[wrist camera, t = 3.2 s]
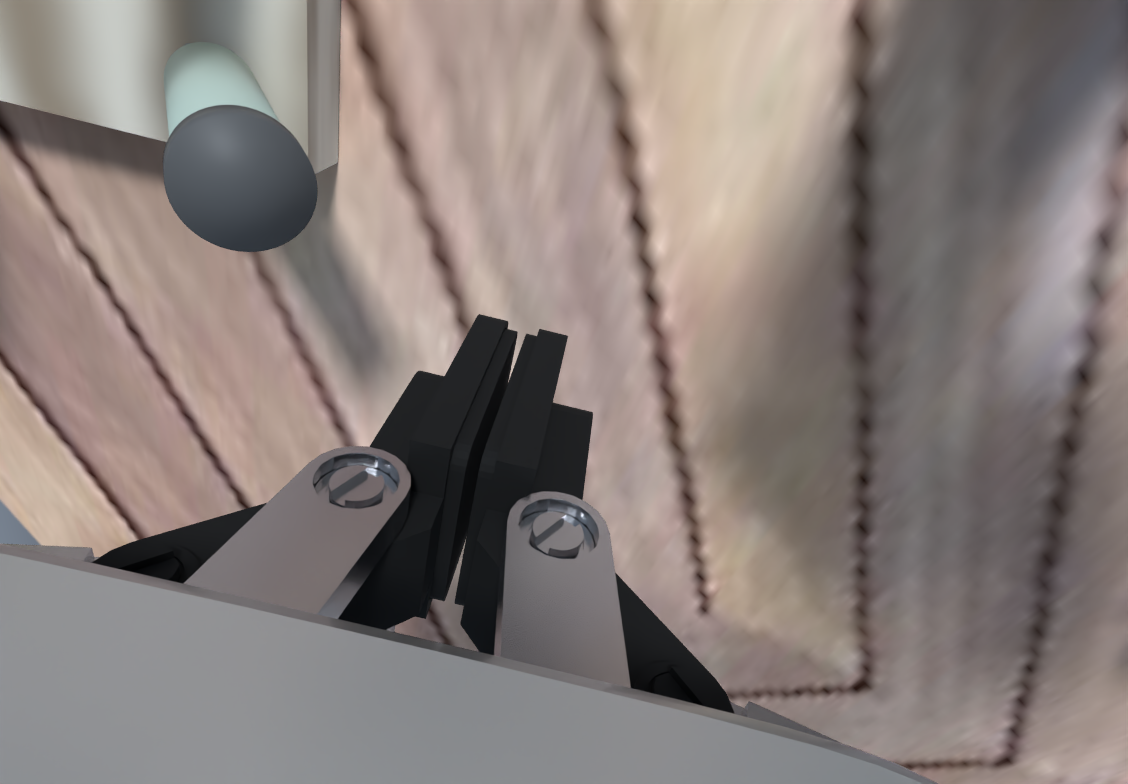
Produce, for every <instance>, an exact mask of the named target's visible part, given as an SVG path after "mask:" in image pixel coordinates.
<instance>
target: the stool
mask: <svg viewBox="0 0 1128 784" xmlns="http://www.w3.org/2000/svg"><path fill="white" fill-rule="evenodd" d="M340 6H341V0H0V101H4V102H8V103H12V104H16V105H20V106H24V107H28V108H32V109H36V110H40V111H44V112H48V113H52V114H56V115H60V116H64V117H68V118H72V119H76V120H80V121H84V122H88V123H92V124H96V125H100V126H104V127H108V128H112V129H116V130H120V131H124V132H128V133H132V134H136V135H140V136H144V137H148V138H152V139H156V140H160V141H164V142H167V141H168V138H169V131H168V121H167V111H166V101H165V91H164V78H163V77H164V69H165V66H166V63H167V61H168V59H169V58H170V56H171V55H172V54H173V53H174V52H175V51H176V50H177V49H179V48H180V47H182V46H184V45H185V44H186V43H194V42H210V43H214V44H218V45H221V46H223V47H225V48H227V49H230V50H232V51H233V52H234V53H235V54H237V55H238V56H239V57H240V58H241V59H242V60H243V61H244V62H245V63H246V64H247V65H248V66H249V68H250V69H251V71H252V73H253V74H254V76H255V78H256V80H257V82H258V83H259V85H260V87H261V89H262V91H263V93H264V94H265V96H266V98H267V100H268V102H269V103H270V105H271V107H272V109H273V111H274V113H275V114H276V116H277V118H278V120H279V122H280V123H281V124H282V125H284V126H285V127H286V128H287V129H288V130H289V131H290V132H291V133H292V134H293V135H294V137H295V138H296V139H297V140H298V142H299V143H300V145H301V146H302V148H303V150H304V152H305V153H306V155H307V157H308V159H309V161H310V163H311V165H312V167H313V170H314V173H315V174H316V173H318V172H320V171H322V170H324V169H326V168H328V167H330V166H332V165H334V164H336V163H338V129H339V68H340Z"/></svg>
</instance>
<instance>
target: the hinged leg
mask: <svg viewBox="0 0 1128 784" xmlns="http://www.w3.org/2000/svg"><path fill="white" fill-rule="evenodd" d="M163 78H164V91H165V101H166V111H167V121H168V131H169V138H168V141H167V143H166V146H165V150H164V156H163V171H164V184H165V189H166V193H167V196H168V199H169V202H170V204H171V205H172V207H173V209H174V211H175V212H176V214H177V215H178V217H179V218H180V219H181V220H182V222H183V223H184V224H185V225H186V226H187V227H188V228H189V229H191V230H192V231H193V232H194V233H195V234H197V235H198V236H200V237H201V238H203V239H204V240H206V241H208V242H210V243H212V244H215V245H217V246H220V247H223V248H226V249H230V250H235V251H243V252H257V251H264V250H269V249H272V248H276V247H278V246H281V245H283V244H285V243H287V242H288V241H290V240H292V239H293V238H294V237H296V236H297V235H298V234H299V233H300V232H301V231H302V230H303V229H304V228H305V226H306V225H307V224H308V222H309V221H310V219H311V217H312V215H313V212H314V210H315V206H316V202H317V181H316V176H315V173H314V170H313V167H312V165H311V163H310V161H309V159H308V157H307V155H306V153H305V152H304V150H303V148H302V146H301V145H300V143H299V142H298V140H297V139H296V138H295V137H294V135H293V134H292V133H291V132H290V131H289V130H288V129H287V128H286V127H285V126H284V125H282V124H281V123H280V122H279V120H278V118H277V116H276V114H275V113H274V111H273V109H272V107H271V105H270V103H269V102H268V100H267V98H266V96H265V94H264V93H263V91H262V89H261V87H260V85H259V83H258V82H257V80H256V78H255V76H254V74H253V73H252V71H251V69H250V68H249V66H248V65H247V64H246V63H245V62H244V61H243V60H242V59H241V58H240V57H239V56H238V55H237V54H235V53H234V52H233V51H232V50H230V49H227V48H225V47H223V46H221V45H218V44H214V43H210V42H194V43H186V44H185V45H184V46H182V47H180V48H179V49H177V50H176V51H175V52H174V53H173V54H172V55H171V56H170V58H169V59H168V61H167V63H166V66H165V69H164V77H163Z"/></svg>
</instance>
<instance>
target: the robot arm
mask: <svg viewBox="0 0 1128 784" xmlns="http://www.w3.org/2000/svg"><path fill="white" fill-rule="evenodd" d="M567 338H568V336H566V335H562V334H558V333H554V332H550V331H546V330H542V329H539V332H538V335H537V336H534V335H529V334H526V336H525V339H524V341H523V344H522V347H521V350H520V352H519V355H518V358H517V361H516V363H515V366H514V369H513V372H512V374H511V377H510V380H509V375H510V370H511V365H512V360H513V355H514V350H515V345H516V339H517V331H513V330H509V329H508V321H505V320H501V319H496V318H492V317H488V316H484V315H480V314H479V315H478V316H477V318H476V320H475V321H474V323H473V325H472V327H471V329H470V331H469V332H468V334H467V336H466V338H465V340H464V342H463V343H462V345H461V347H460V349H459V351H458V353H457V354H456V356H455V358H454V360H453V362H452V364H451V365H450V367H449V369H448V371H447V373H446V375H445V376H440V375H436V374H432V373H428V372H424V371H418V372H417V373H416V374H415V375H414V377H413V378H412V380H411V382H410V383H409V385H408V386H407V388H406V390H405V391H404V393H403V394H402V396H401V397H400V399H399V401H398V402H397V404H396V405H395V407H394V409H393V410H392V412H391V413H390V415H389V417H388V418H387V420H386V421H385V423H384V424H383V426H382V428H381V429H380V431H379V432H378V434H377V436H376V437H375V439H374V440H373V442H372V444H371V445H370V447H363V446H349V447H343V448H337V449H334V450H331V451H328V452H326V453H323V454H321V455H319V456H318V457H317V458H315V459H314V460H312V461H311V462H310V463H308V464H307V465H306V466H305V467H304V468H303V469H302V470H301V471H300V472H299V473H298V474H297V475H296V476H295V477H294V478H293V479H292V480H291V481H290V482H289V483H288V484H287V485H286V486H285V487H283V488H282V489H281V490H280V491H279V492H278V493H277V494H276V495H275V496H274V497H273V498H272V499H271V500H270V501H269V502H268V503H265V504H261V505H258V506H255V507H251V508H248V509H244V510H241V511H237V512H234V513H230V514H227V515H224V516H220V517H217V518H213V519H210V520H206V521H203V522H199V523H196V524H193V525H189V526H186V527H182V528H179V529H175V530H172V531H168V532H165V533H162V534H158V535H155V536H151V537H148V538H144V539H141V540H137V541H134V542H131V543H129V544H126V545H123V546H121V547H118V548H116V549H113V550H111V551H109V552H108V553H106V554H105V555H103V556H101V557H94V554H93V550H92V548H88V547H64V546H41V545H17V544H0V784H938V783H936V782H934V781H932V780H930V779H928V778H926V777H923V776H921V775H919V774H917V773H915V772H913V771H911V770H909V769H907V768H905V767H903V766H900V765H898V764H896V763H894V762H891V761H888V760H886V759H883V758H880V757H878V756H875V755H872V754H870V753H867V752H864V751H862V750H859V749H856V748H853V747H851V746H848V745H845V744H842V743H840V742H838V741H835V740H833V739H831V738H829V737H827V736H825V735H822V734H820V733H818V732H816V731H814V730H811V729H809V728H807V727H805V726H803V725H800V724H798V723H796V722H794V721H792V720H789V719H787V718H785V717H783V716H781V715H778V714H776V713H774V712H772V711H770V710H768V709H765V708H763V707H761V706H759V705H757V704H754V703H752V702H750V701H749V702H748V703H747V705H746V706H745V708H742V707H740V706H738V705H736V704H734V703H731V702H730V701H729V698H728V696H727V694H726V692H725V691H724V690H723V688H722V687H721V686H720V684H719V683H718V682H717V680H716V679H715V678H714V677H713V676H712V675H711V674H710V673H709V671H708V670H707V669H706V668H705V667H704V666H703V665H702V664H701V663H700V662H699V661H698V660H697V659H696V658H695V657H694V656H693V655H692V653H691V652H690V651H689V650H688V649H687V648H686V647H685V646H684V645H683V644H682V643H681V642H680V641H679V640H678V639H677V638H676V637H675V635H674V634H673V633H672V632H671V631H670V630H669V629H668V628H667V627H666V626H665V625H664V624H663V623H662V622H661V621H660V620H659V619H658V617H657V616H656V615H655V614H654V613H653V612H652V611H651V610H650V609H649V608H648V607H647V606H646V605H645V604H644V603H643V602H642V600H641V599H640V598H639V597H638V596H637V595H636V594H635V593H634V592H633V591H632V590H631V589H630V588H629V587H628V586H627V585H626V584H625V582H624V581H623V580H622V579H621V578H620V577H619V576H618V575H617V574H616V573H615V568H614V560H613V553H612V546H611V538H610V533H609V530H608V527H607V524H606V521H605V520H604V519H603V517H602V516H601V515H600V513H599V512H598V511H597V510H596V509H594V508H593V507H592V506H591V505H589V504H588V503H587V502H585V501H583V500H582V499H583V491H584V483H585V475H586V467H587V459H588V451H589V443H590V435H591V427H592V419H593V413H592V412H589V411H585V410H581V409H577V408H573V407H569V406H564V405H560V404H556V403H553V398H554V394H555V390H556V385H557V381H558V377H559V373H560V368H561V364H562V360H563V355H564V351H565V347H566V342H567ZM508 380H509V383H508ZM466 537H467V538H466ZM465 540H466V543H465ZM464 543H465V549H464V554H463V559H462V565H461V570H460V576H459V581H458V587H457V592H456V598H455V604H459V605H463V606H464V609H463V614H462V619H461V626H462V627H463V629H464V630H465V631H466V633H467V634H468V636H469V637H470V639H471V640H472V642H473V643H474V644H475V646H476V647H477V649H478V652H477V651H472V650H468V649H464V648H459V647H455V646H451V645H447V644H442V643H438V642H434V641H430V640H425V639H421V638H417V637H412V636H408V635H404V634H400V633H395V625H397V624H399V623H401V622H404V621H406V620H408V619H410V618H412V617H415V616H416V617H420V618H424V619H426V616H427V613H428V610H429V608H430V605H431V602H432V599H438V600H442V601H445V599H446V596H447V593H448V590H449V587H450V584H451V581H452V578H453V575H454V573H455V570H456V567H457V564H458V561H459V558H460V555H461V552H462V549H463V546H464Z"/></svg>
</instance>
